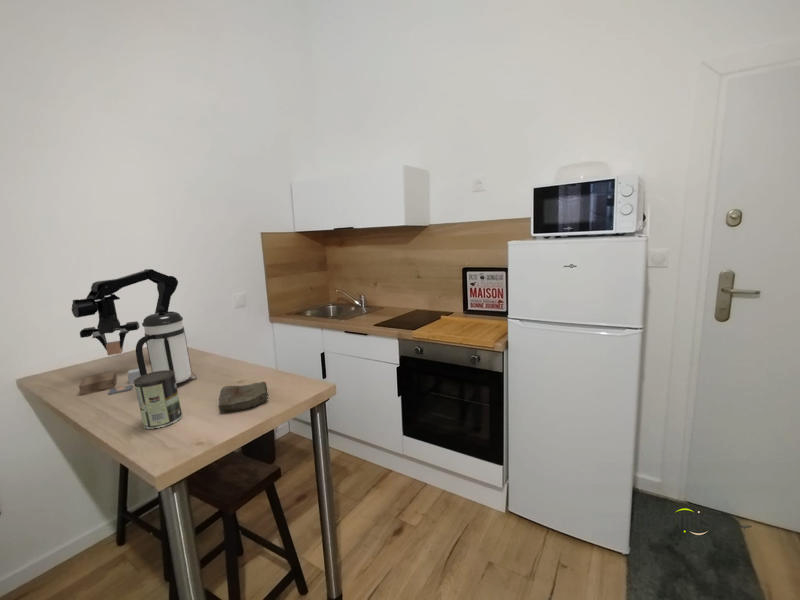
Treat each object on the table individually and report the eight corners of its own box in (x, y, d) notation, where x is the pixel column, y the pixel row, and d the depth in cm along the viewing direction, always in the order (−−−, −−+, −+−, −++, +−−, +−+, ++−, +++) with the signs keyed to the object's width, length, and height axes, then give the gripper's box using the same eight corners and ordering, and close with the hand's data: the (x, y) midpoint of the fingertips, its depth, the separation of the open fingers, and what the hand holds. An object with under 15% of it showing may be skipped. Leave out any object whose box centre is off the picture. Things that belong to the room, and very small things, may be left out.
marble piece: (223, 396, 130) (221, 385, 130) (268, 388, 135) (266, 377, 134) (217, 417, 115) (215, 404, 114) (268, 407, 119) (266, 395, 119)
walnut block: (117, 381, 153) (115, 371, 152) (115, 389, 144) (112, 379, 144) (85, 388, 147) (83, 378, 147) (81, 396, 139) (78, 386, 138)
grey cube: (144, 378, 153) (142, 367, 152) (142, 381, 149) (140, 371, 149) (131, 380, 151) (129, 370, 150) (129, 384, 147) (127, 373, 147)
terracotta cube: (123, 350, 159) (121, 340, 158) (120, 353, 155) (118, 342, 155) (110, 352, 157) (108, 342, 156) (107, 355, 153) (105, 344, 153)
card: (133, 385, 145) (133, 384, 145) (131, 390, 141) (131, 388, 141) (110, 390, 142) (110, 388, 142) (108, 395, 138) (107, 393, 138)
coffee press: (150, 382, 147) (135, 306, 142) (196, 373, 154) (184, 300, 149) (144, 399, 132) (127, 314, 126) (196, 387, 139) (182, 307, 133)
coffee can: (175, 409, 122) (167, 367, 119) (187, 418, 115) (179, 374, 112) (138, 423, 114) (128, 378, 112) (148, 433, 107) (139, 386, 105)
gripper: (71, 319, 142) (80, 359, 145) (131, 311, 150) (138, 350, 153) (80, 314, 152) (88, 352, 155) (136, 307, 160) (142, 343, 163)
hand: (114, 349), depth 156 cm, fingers closed on terracotta cube, 4 cm apart
